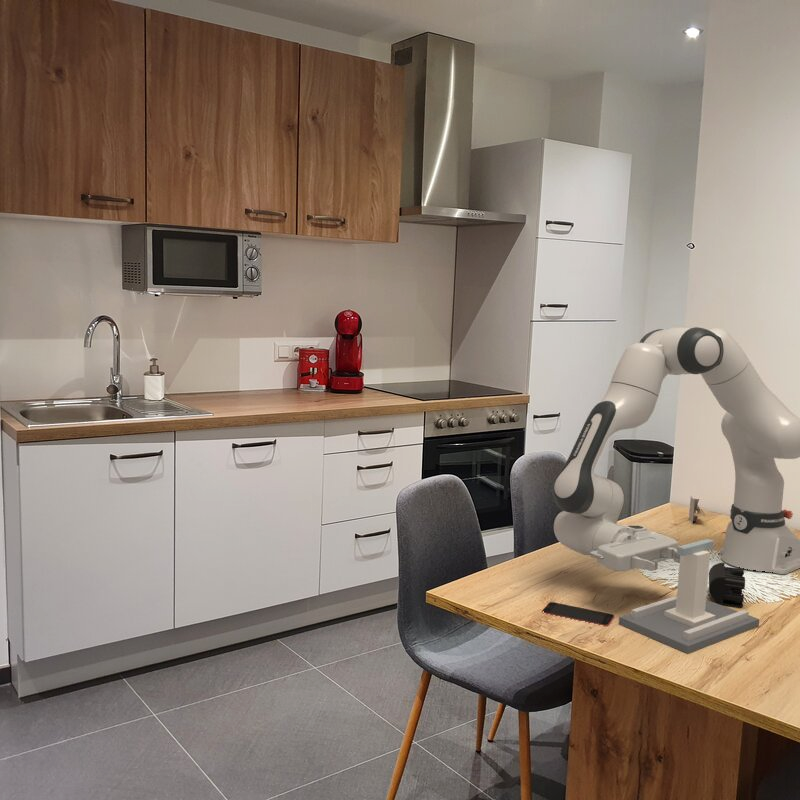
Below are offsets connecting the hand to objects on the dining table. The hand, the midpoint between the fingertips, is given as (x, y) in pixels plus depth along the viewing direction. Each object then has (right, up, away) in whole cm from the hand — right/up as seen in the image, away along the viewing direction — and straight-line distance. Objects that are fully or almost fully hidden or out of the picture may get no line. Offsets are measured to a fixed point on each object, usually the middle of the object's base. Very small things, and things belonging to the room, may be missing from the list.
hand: (669, 563), depth 171 cm
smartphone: (-19, -11, +1) cm, 22 cm away
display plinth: (+3, -12, -3) cm, 13 cm away
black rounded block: (+16, -11, +13) cm, 23 cm away
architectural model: (+31, -3, +74) cm, 80 cm away
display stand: (+3, -10, -3) cm, 11 cm away
